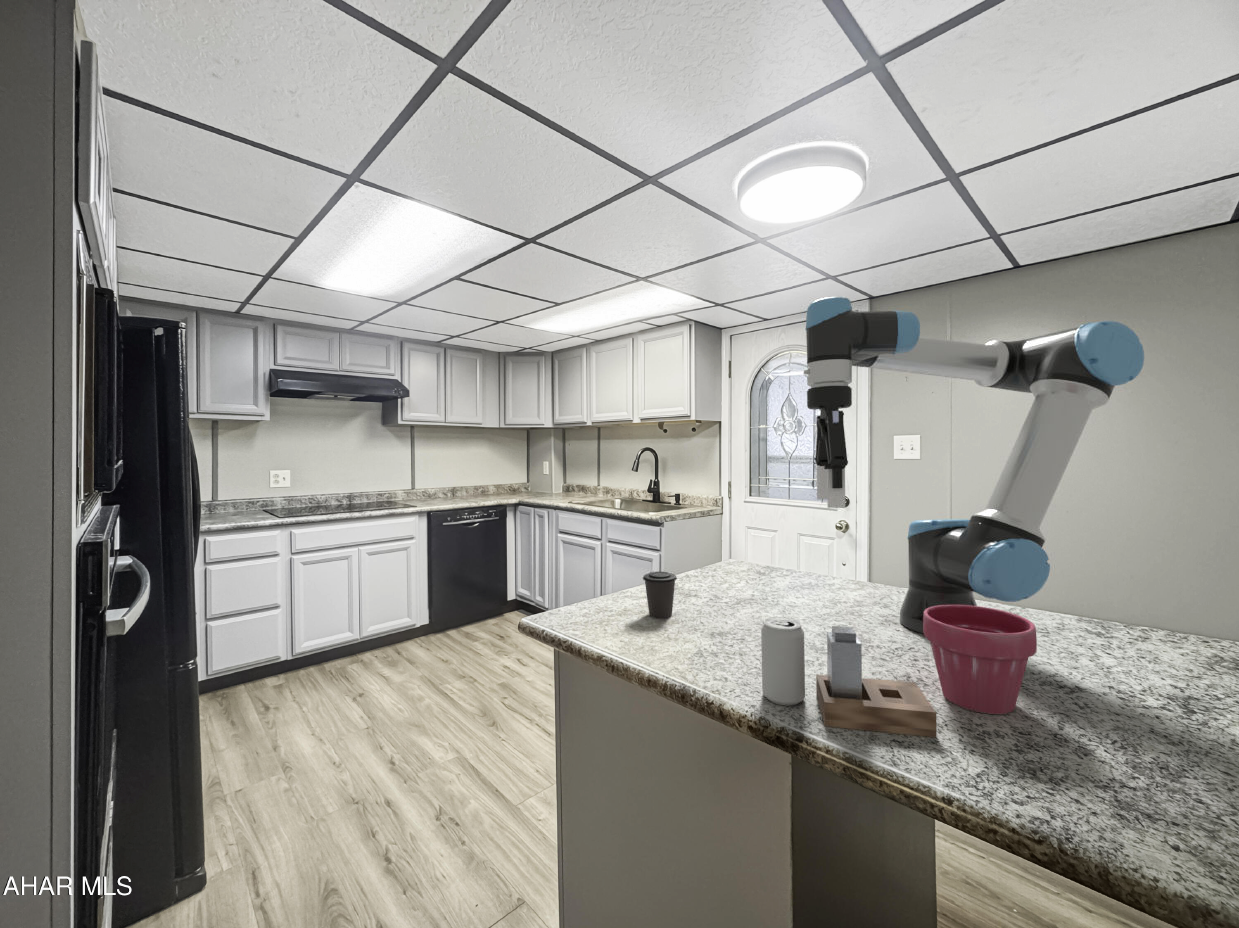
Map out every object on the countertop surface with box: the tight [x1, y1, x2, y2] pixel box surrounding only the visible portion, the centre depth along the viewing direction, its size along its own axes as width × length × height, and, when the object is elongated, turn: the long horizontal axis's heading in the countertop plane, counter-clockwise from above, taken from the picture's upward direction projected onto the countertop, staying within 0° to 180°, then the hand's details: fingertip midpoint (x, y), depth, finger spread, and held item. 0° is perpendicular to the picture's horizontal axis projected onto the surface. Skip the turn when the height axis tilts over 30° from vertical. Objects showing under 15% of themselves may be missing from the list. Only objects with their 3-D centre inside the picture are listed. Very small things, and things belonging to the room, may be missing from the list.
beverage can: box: [760, 616, 806, 707], centre depth 80 cm, size 6×6×12 cm
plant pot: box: [923, 605, 1038, 715], centre depth 79 cm, size 14×14×13 cm
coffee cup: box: [642, 571, 678, 620], centre depth 122 cm, size 8×8×10 cm
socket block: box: [815, 674, 937, 738], centre depth 75 cm, size 14×9×3 cm, turn 76°
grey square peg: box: [826, 625, 863, 700], centre depth 76 cm, size 4×4×11 cm
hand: (830, 503), depth 94 cm, fingers open, 13 cm apart
